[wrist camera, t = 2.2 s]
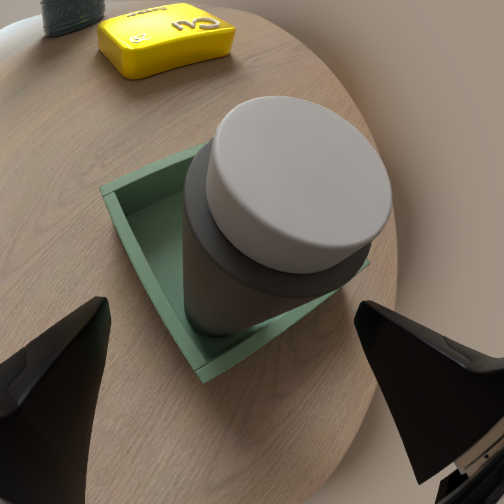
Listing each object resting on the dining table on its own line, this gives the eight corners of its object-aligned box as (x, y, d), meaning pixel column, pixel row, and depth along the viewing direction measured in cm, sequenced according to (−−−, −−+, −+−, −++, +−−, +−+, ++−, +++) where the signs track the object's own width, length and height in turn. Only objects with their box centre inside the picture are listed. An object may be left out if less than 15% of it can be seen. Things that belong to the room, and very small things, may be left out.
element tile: (182, 22, 31) (186, -1, 27) (236, 55, 29) (243, 26, 25) (95, 46, 25) (93, 20, 21) (128, 85, 23) (126, 49, 19)
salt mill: (258, 316, 17) (436, 212, 4) (206, 350, 16) (293, 342, 3) (225, 265, 18) (317, 75, 5) (172, 295, 17) (144, 110, 4)
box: (340, 279, 20) (371, 262, 17) (199, 377, 16) (203, 384, 12) (251, 157, 23) (264, 124, 19) (112, 218, 18) (98, 187, 14)
